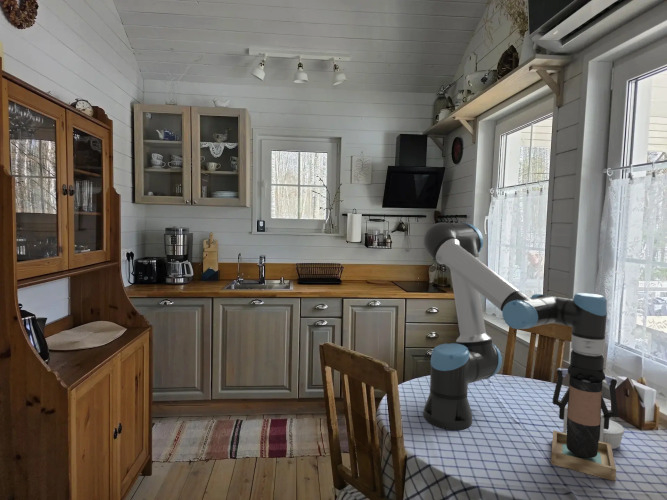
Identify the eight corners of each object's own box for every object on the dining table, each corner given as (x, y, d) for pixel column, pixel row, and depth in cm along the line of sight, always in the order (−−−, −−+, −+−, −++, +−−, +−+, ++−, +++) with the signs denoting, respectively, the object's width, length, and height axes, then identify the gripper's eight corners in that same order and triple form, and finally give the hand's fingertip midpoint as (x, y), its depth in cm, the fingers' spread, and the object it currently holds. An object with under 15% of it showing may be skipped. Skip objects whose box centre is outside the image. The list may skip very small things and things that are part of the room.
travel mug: (603, 460, 105) (608, 384, 104) (571, 456, 106) (575, 381, 105) (591, 444, 112) (595, 374, 111) (561, 441, 114) (565, 371, 113)
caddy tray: (551, 463, 107) (551, 452, 107) (552, 440, 119) (553, 430, 119) (615, 481, 100) (616, 469, 100) (610, 454, 112) (610, 443, 112)
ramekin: (572, 440, 119) (573, 423, 119) (583, 428, 127) (584, 411, 127) (618, 456, 111) (619, 437, 111) (626, 442, 119) (627, 424, 119)
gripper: (543, 349, 110) (539, 430, 111) (636, 363, 100) (630, 453, 101) (544, 342, 116) (540, 419, 118) (632, 354, 106) (627, 439, 107)
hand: (582, 435), depth 109 cm, fingers closed on travel mug, 8 cm apart
